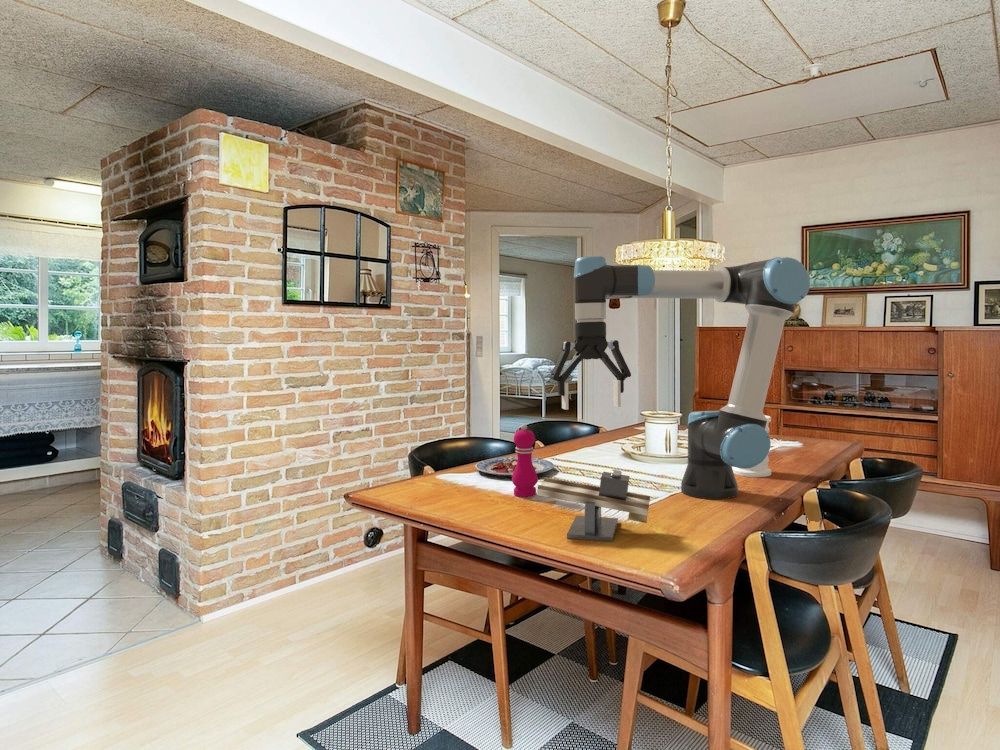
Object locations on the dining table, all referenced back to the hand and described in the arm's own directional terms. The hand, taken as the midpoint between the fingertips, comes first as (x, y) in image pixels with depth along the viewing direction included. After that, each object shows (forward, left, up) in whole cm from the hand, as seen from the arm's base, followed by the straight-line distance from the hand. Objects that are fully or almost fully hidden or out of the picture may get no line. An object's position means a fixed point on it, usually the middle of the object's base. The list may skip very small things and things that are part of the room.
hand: (591, 407), depth 156 cm
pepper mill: (+21, -16, -27) cm, 38 cm away
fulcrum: (-2, +11, -27) cm, 29 cm away
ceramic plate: (+31, -44, -28) cm, 60 cm away
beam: (-2, +11, -22) cm, 25 cm away
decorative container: (-43, -56, -27) cm, 76 cm away
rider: (-6, +11, -19) cm, 23 cm away
